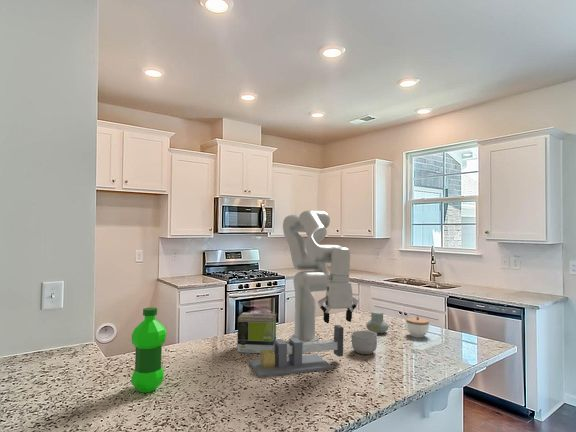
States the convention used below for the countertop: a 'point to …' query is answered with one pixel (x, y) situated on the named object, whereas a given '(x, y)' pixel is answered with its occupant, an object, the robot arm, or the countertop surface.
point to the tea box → (256, 332)
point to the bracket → (290, 361)
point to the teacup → (364, 341)
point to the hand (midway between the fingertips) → (337, 321)
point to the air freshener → (377, 323)
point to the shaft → (323, 344)
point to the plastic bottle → (148, 352)
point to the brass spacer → (267, 359)
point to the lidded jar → (417, 326)
